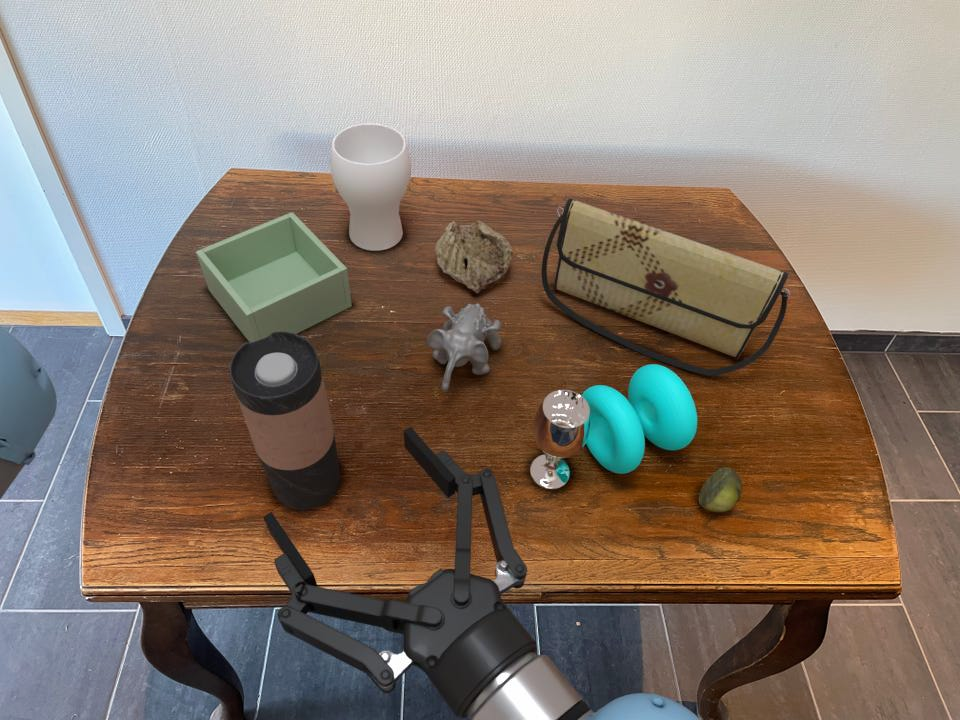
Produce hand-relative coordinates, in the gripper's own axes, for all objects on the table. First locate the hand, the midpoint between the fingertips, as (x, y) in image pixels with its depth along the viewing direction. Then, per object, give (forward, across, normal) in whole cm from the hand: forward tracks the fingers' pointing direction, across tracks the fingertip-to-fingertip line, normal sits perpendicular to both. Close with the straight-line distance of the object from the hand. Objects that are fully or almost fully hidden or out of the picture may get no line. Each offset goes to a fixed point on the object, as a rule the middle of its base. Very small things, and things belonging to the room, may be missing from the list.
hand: (342, 476), depth 59 cm
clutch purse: (+3, +46, -14) cm, 48 cm away
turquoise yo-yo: (-8, +31, -14) cm, 35 cm away
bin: (+36, +11, -14) cm, 40 cm away
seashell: (+25, +35, -14) cm, 45 cm away
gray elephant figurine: (+12, +23, -14) cm, 30 cm away
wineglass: (-6, +22, -14) cm, 27 cm away
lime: (-19, +34, -14) cm, 41 cm away
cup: (+39, +28, -14) cm, 51 cm away
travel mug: (+10, 0, -14) cm, 17 cm away
